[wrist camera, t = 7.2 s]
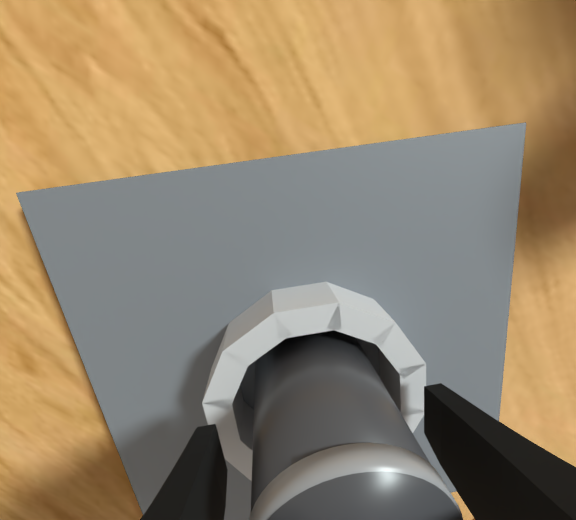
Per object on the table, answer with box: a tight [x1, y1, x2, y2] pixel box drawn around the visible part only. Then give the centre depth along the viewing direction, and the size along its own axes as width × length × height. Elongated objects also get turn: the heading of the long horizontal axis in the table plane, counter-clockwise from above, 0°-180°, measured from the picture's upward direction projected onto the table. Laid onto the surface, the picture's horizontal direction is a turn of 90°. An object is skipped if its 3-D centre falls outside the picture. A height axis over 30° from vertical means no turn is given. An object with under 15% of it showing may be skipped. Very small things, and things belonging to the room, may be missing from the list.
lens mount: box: [16, 123, 526, 520], centre depth 12 cm, size 18×18×3 cm
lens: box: [249, 330, 463, 520], centre depth 9 cm, size 5×5×6 cm
